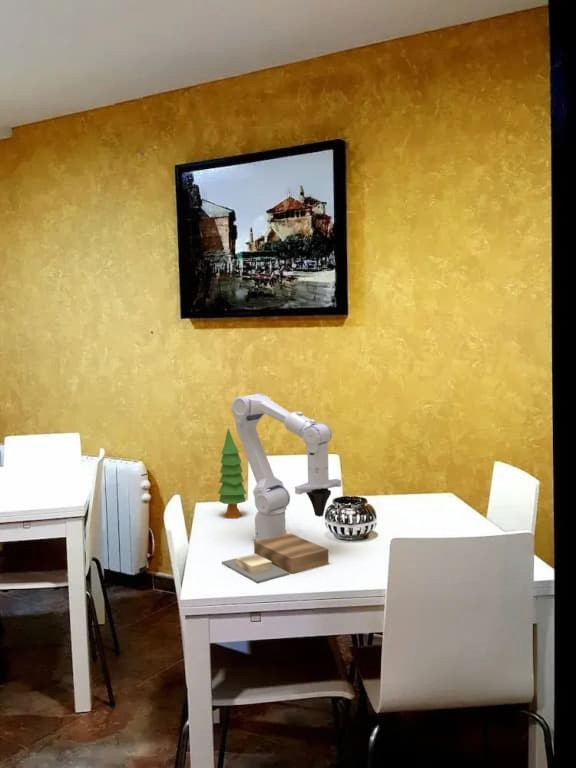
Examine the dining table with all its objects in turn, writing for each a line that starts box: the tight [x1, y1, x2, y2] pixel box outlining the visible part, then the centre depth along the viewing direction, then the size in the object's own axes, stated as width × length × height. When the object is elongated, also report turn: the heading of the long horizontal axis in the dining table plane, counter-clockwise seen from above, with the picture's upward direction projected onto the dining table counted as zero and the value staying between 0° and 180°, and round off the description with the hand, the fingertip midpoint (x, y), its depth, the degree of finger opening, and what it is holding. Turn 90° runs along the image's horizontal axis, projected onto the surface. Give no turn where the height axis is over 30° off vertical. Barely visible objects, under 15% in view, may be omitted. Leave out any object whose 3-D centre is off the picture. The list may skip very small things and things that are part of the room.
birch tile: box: [236, 553, 272, 574], centre depth 184 cm, size 8×6×2 cm
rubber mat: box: [221, 556, 290, 584], centre depth 184 cm, size 18×10×1 cm, turn 35°
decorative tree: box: [217, 428, 247, 519], centre depth 234 cm, size 10×9×30 cm
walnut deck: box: [253, 532, 329, 575], centre depth 190 cm, size 18×12×4 cm, turn 35°
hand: (319, 515), depth 195 cm, fingers closed
